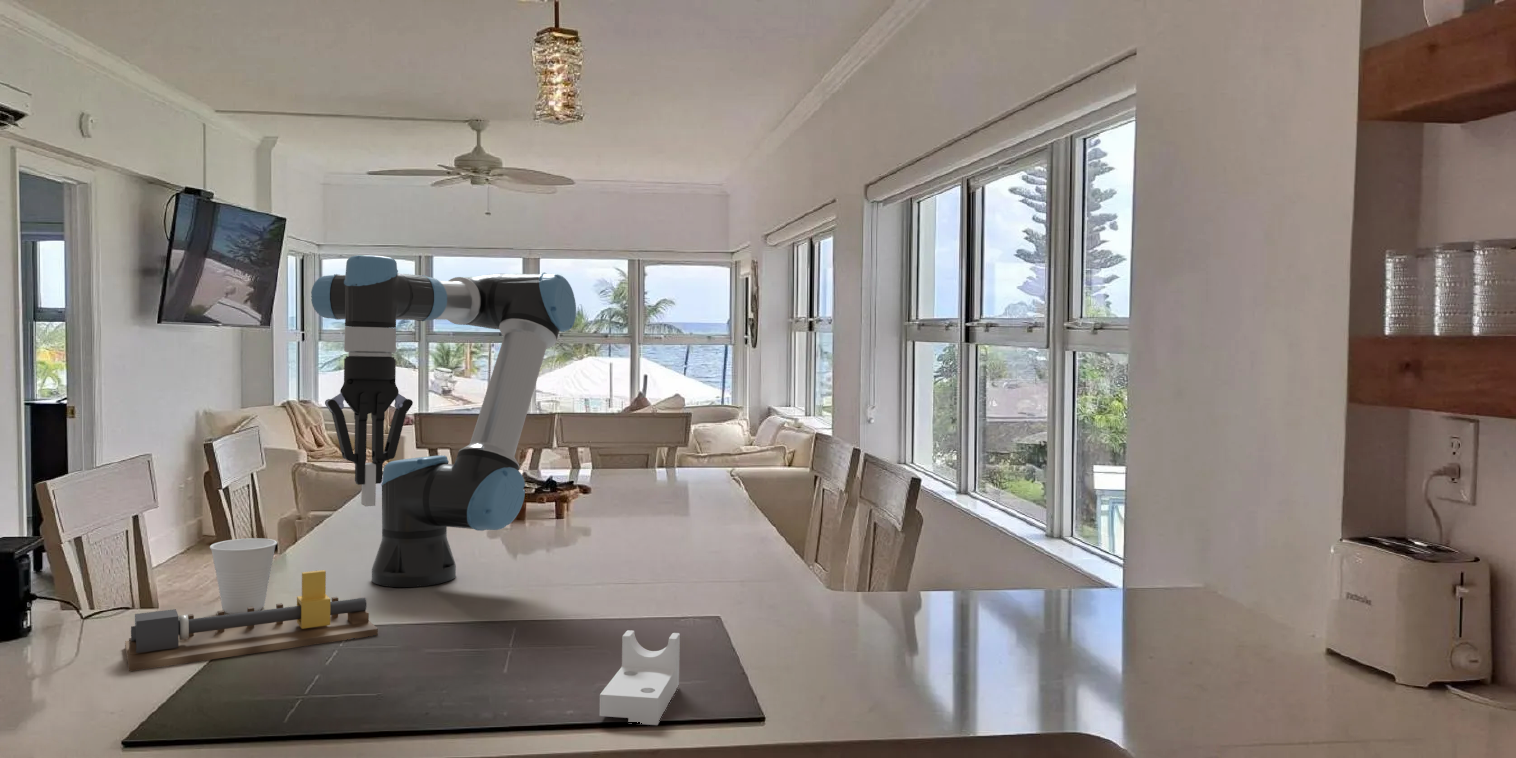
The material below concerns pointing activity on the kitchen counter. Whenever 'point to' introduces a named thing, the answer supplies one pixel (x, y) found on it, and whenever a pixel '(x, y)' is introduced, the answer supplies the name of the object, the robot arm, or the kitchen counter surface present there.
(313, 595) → the sleeve
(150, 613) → the connector
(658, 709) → the bracket
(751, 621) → the kitchen counter surface
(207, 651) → the comb board
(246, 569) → the cup
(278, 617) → the cord
